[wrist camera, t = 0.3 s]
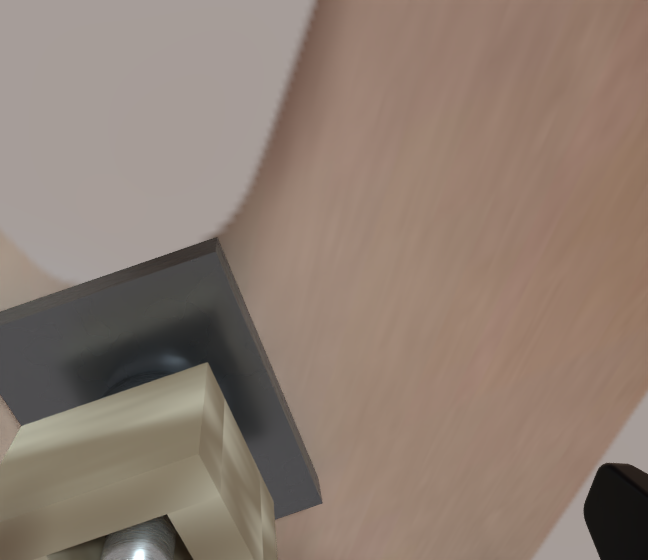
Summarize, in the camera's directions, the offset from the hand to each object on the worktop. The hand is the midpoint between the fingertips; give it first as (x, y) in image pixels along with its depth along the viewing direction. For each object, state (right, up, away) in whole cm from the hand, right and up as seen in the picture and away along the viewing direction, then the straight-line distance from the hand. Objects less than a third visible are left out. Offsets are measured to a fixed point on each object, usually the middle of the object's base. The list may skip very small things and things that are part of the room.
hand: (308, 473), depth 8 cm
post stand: (-6, -2, +15) cm, 17 cm away
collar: (-6, -4, +12) cm, 14 cm away
